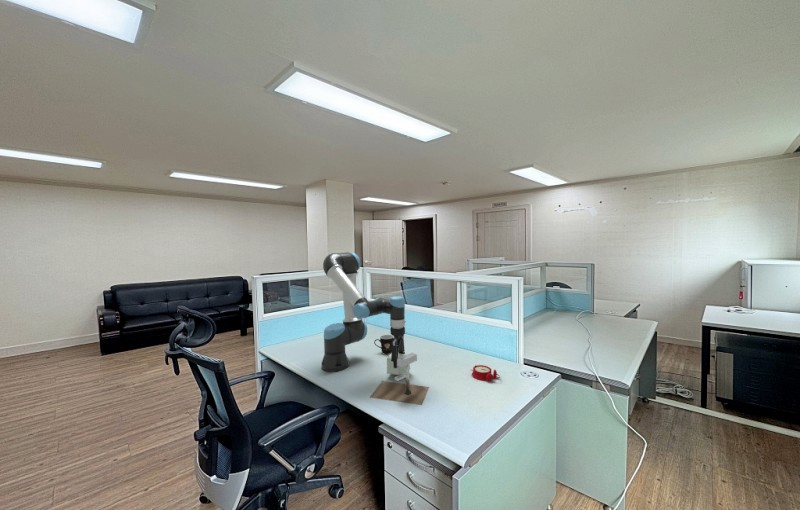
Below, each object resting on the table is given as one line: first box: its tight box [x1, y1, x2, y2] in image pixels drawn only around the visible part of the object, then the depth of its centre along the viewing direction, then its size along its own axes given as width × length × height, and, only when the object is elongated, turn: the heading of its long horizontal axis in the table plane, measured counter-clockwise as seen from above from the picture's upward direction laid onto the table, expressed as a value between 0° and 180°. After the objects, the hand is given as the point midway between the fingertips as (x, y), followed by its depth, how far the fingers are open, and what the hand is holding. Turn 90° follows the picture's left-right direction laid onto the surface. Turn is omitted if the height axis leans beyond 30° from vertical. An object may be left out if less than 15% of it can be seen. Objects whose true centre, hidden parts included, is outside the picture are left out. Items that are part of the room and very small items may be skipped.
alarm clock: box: [471, 364, 501, 383], centre depth 156 cm, size 10×6×15 cm
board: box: [369, 380, 430, 406], centre depth 140 cm, size 24×16×2 cm
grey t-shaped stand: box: [394, 352, 418, 392], centre depth 138 cm, size 12×3×16 cm, turn 135°
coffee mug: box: [374, 334, 394, 355], centre depth 193 cm, size 12×9×10 cm
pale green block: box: [386, 353, 411, 376], centre depth 157 cm, size 10×8×8 cm
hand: (398, 369), depth 157 cm, fingers closed on pale green block, 8 cm apart
